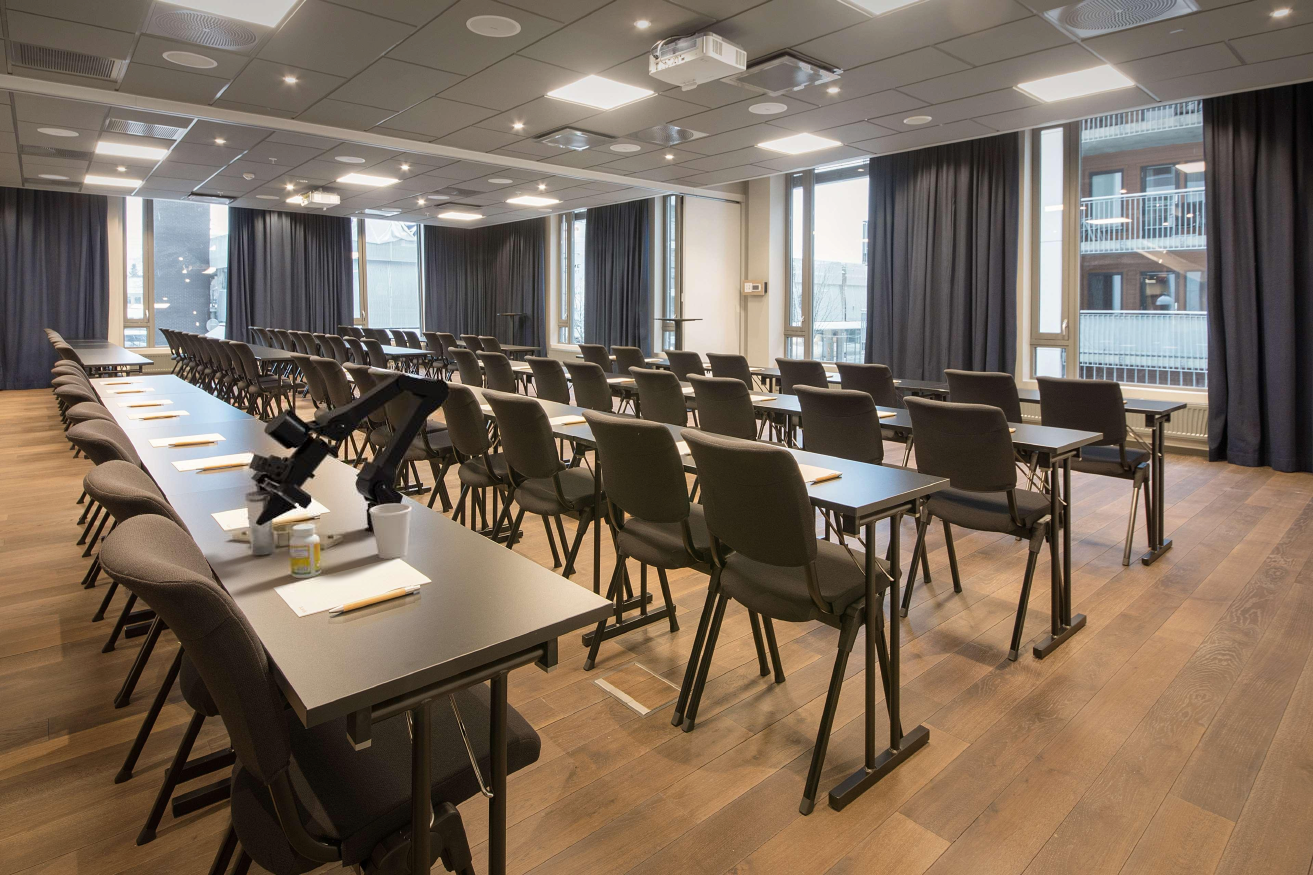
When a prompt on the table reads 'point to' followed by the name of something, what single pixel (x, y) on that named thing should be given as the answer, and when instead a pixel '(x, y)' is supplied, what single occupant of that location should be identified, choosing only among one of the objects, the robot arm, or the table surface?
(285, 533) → the hinge
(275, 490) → the robot arm
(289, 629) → the table surface
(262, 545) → the grey cylinder
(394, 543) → the dixie cup
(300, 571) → the supplement bottle
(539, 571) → the table surface
